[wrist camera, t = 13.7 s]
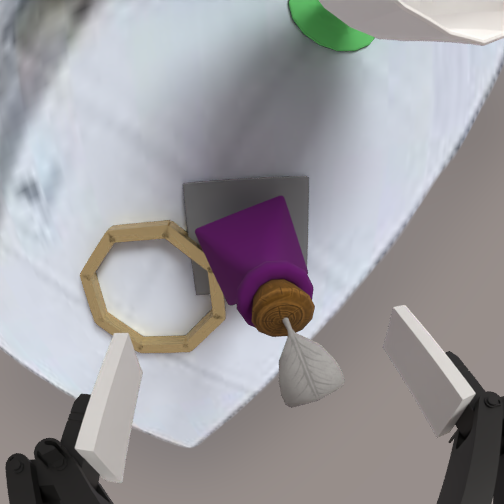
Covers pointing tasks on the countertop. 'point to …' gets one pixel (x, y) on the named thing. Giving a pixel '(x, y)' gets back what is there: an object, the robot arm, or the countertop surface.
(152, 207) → the countertop surface
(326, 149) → the countertop surface
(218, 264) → the perfume bottle
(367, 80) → the countertop surface
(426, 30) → the cup
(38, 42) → the countertop surface
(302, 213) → the slate coaster
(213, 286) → the wooden octagonal frame
